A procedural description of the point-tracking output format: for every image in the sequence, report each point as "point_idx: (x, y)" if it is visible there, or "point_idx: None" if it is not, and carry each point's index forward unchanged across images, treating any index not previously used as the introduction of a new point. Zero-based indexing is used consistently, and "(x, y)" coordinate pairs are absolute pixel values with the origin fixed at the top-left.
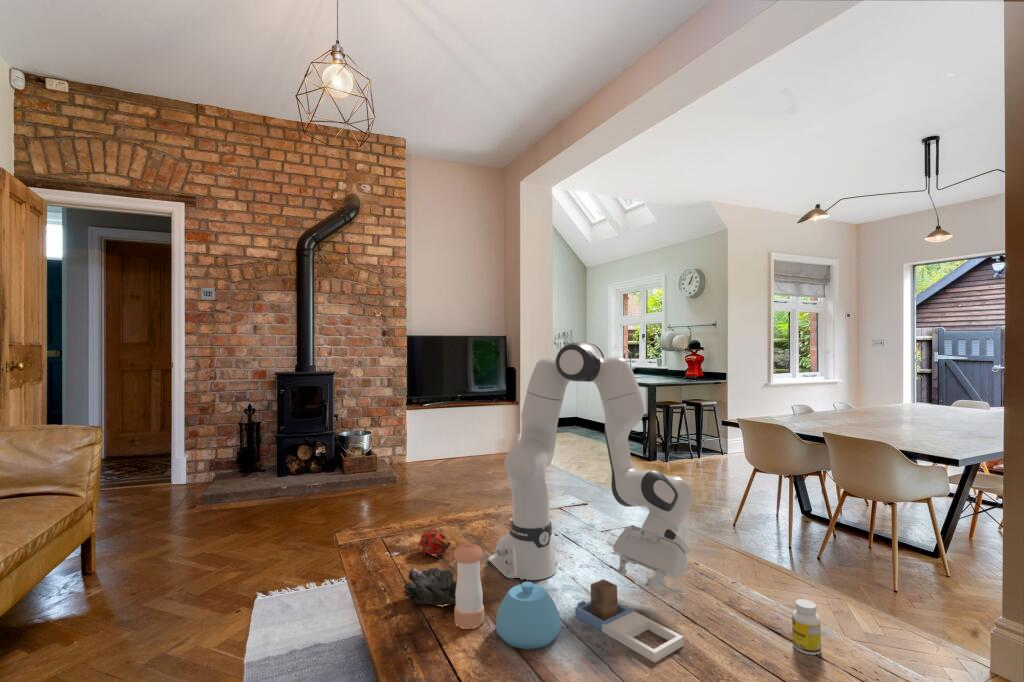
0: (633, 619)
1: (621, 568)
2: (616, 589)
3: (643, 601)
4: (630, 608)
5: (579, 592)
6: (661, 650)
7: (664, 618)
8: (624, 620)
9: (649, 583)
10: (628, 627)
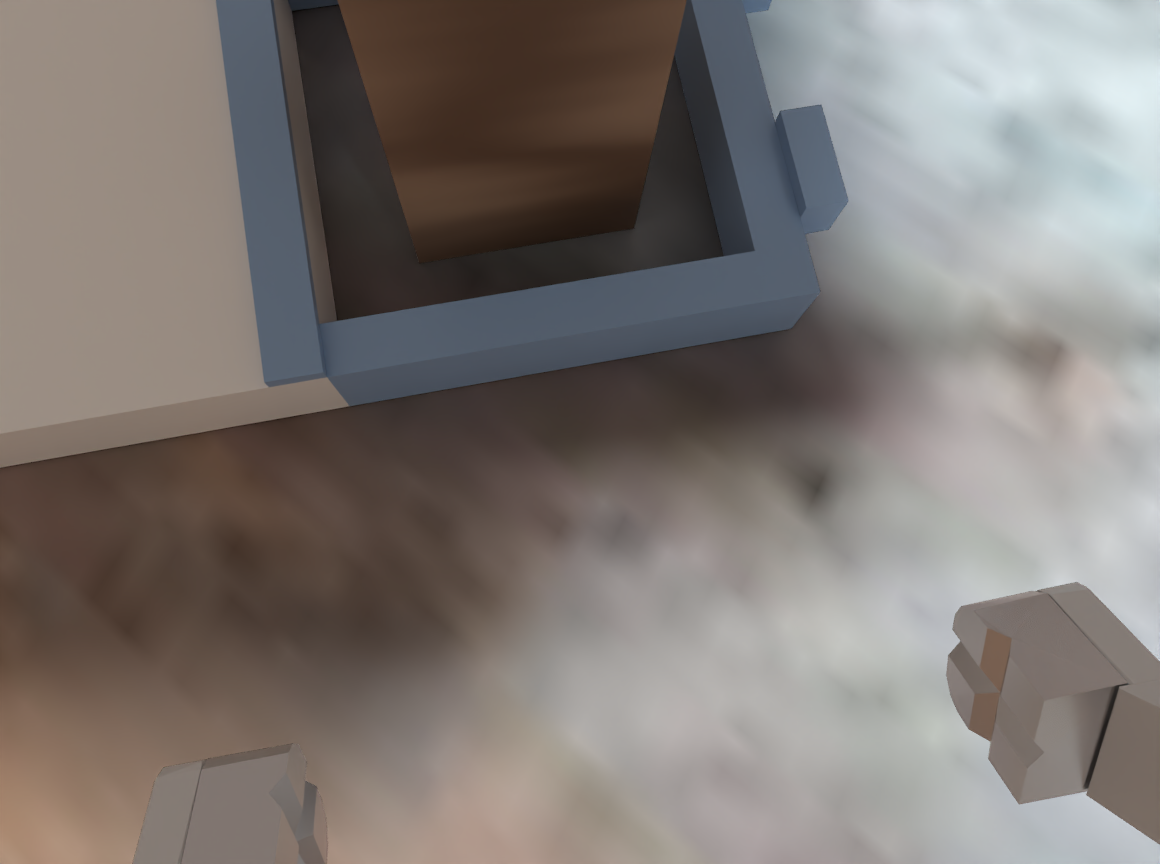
0: (108, 247)
1: (1066, 651)
2: (350, 28)
3: (609, 845)
4: (318, 364)
5: (1153, 234)
6: None
7: (105, 791)
8: (153, 138)
9: (201, 788)
10: (4, 84)
